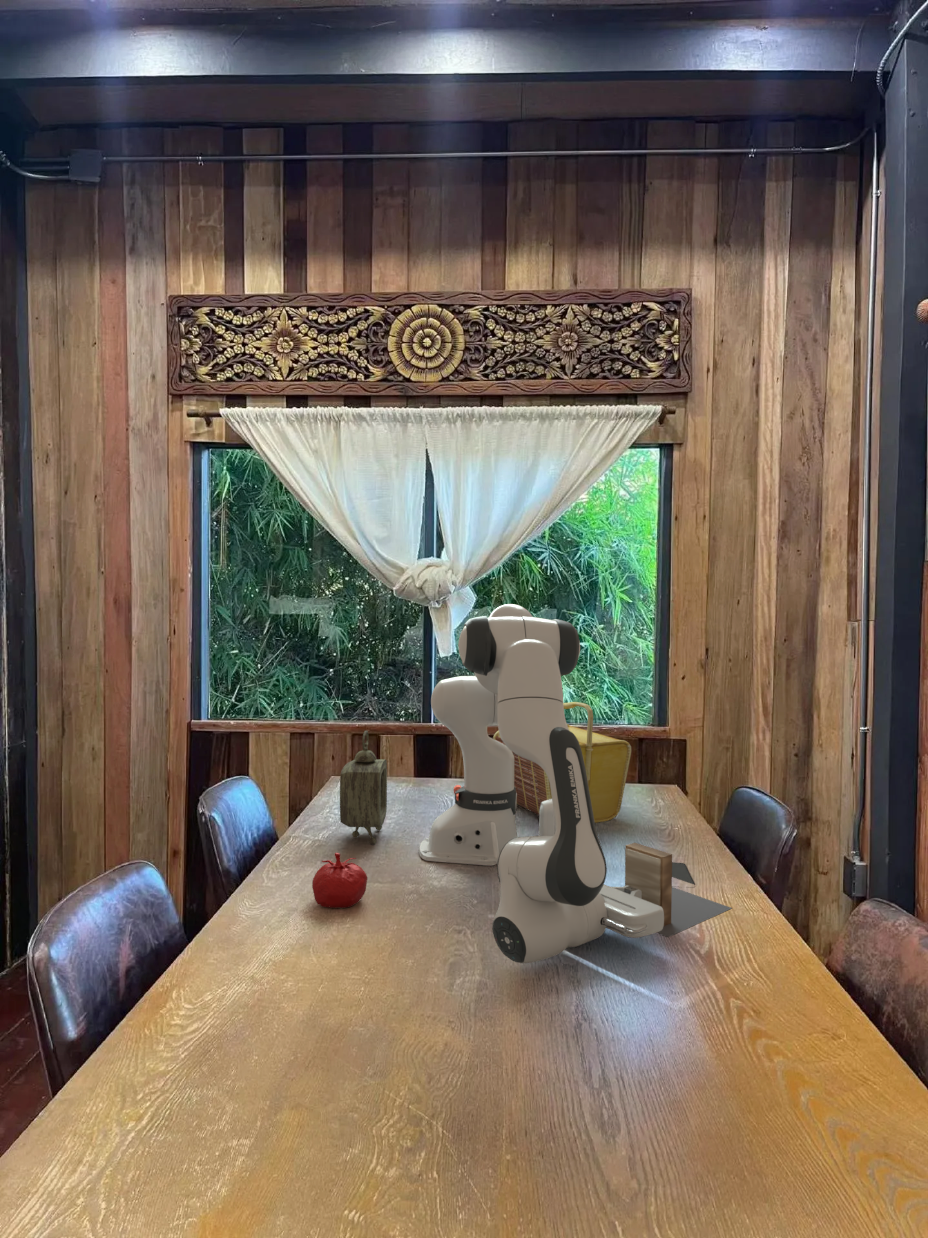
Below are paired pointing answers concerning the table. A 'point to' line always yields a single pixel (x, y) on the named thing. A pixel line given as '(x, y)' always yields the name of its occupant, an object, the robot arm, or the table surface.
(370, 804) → the tabletop clock
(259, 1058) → the table surface
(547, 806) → the photo printer
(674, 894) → the mat
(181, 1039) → the table surface
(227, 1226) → the table surface
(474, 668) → the robot arm
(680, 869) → the smartphone
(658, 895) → the wooden block
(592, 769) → the picnic basket
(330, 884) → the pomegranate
